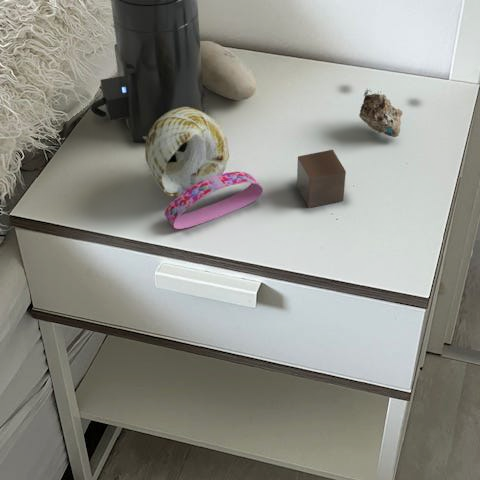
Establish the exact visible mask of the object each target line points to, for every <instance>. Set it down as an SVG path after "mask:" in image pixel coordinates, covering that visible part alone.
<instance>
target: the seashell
mask: <svg viewBox="0 0 480 480" xmlns="http://www.w3.org/2000/svg"><path fill="white" fill-rule="evenodd" d="M229 149H230V148H229V145H228V139H227V137H226V135H225V132H224V130H223V128H222V126H221V124H219V122H217V120H215V119H214V118H213V117H212V116H210V115H209V114H207V113H206V112H205V113H204V112H201V111H199V110H196V109H193V108H190V107H181V108H177V109H174V110H171V111H169V112H168V113H166V114H164V115H163V116H162V117H160V118H159V119H158V120H157V121H156V122H155V124H154V125H153V127H152V128H151V130H150V132H149V134H148V137H147V140H146V142H145V148H144V151H145V152H144V156H145V157H144V158H145V162H146V165H147V167H148V170H149V172H150V174H151V175H152V177H153V180H154V181H155V183H156V185H157V186H158V187H159V189H161V191H162V192H163V193H164V194H166V195H167V196H169V197H175V196H176V197H178V196H179V195H180V194H182V193H183V192H184V191H186V190H187V189H189V188H190V187H192V186H194V185H196V184H197V183H199V182H201V181H203V180H206V179H208V178H210V177H212V176H215V175H219V174H223V173H224V171H226V168H227V164H228V161H229V159H230V150H229Z"/></svg>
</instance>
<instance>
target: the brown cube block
mask: <svg viewBox="0 0 480 480" xmlns="http://www.w3.org/2000/svg"><path fill="white" fill-rule="evenodd" d="M296 171H297V172H296V175H297V176H296V186H297V189H298V190H299V193H300V194H301V196H302V198H303V200H304V202H305V204H306V206H307V208H309V209H310V208H315V207H319V206H325V205H329V204H334V203H339V202H343V201H344V198H345V187H346V185H345V184H346V175H347V171H346V169H345V168H344V166H343V165H342V162H341V161H340V159H339V157H338V156H337V154H336V152H335V151H334V149H328V150H323V151H319V152H313V153H307V154H303V155H298V156H297V169H296Z"/></svg>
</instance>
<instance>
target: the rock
mask: <svg viewBox="0 0 480 480" xmlns="http://www.w3.org/2000/svg"><path fill="white" fill-rule="evenodd" d="M344 89H345V88H344ZM369 93H371V94H369ZM379 93H380V94H379ZM381 93H382V91H379V90H378V91H377V93H372V90H371V88H369V89H366V90H365V91H364V93H363V95H364V98H363V101H362V102H363V103H362V104H361V106H360V110H359V115H358V117H359V118H360V119H361V121H363V122H364V123H365V124H366V125H367V126H368V127H369V128H371V129H372V130H374V131H376V132H377V133H378V134H382V133H383V134H384V135H385V136H388V137H392V138H393V137H394V138H396V137H399V135H400V132H401V124H402V121H401V118H402V115H403V110H402V109H399V108H395V107H394V106H393V105H392V102H391V100H390V99H388V98H387V95H385V94H381Z"/></svg>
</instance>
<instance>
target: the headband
mask: <svg viewBox="0 0 480 480" xmlns="http://www.w3.org/2000/svg"><path fill="white" fill-rule="evenodd" d="M239 184H249V185H248V186H246V188H244V189H243V190H241V191H240V192H238V193H236V194H234V195H231V196H229V197H227V198H224V199H222V200H220V201H217V202H214V203H212V204H209V205H207V206H205V207H201V208H199V209H196V210H194V211H190V212H186V213H184V212H185V211H186V210H187V209H188V208H190V207H191V206H192V205H194V204H195V203H197V202H198V201H200V200H202V198H205V197H206V196H208V195H210V194H212V193H215V192H216V191H218V190H221V189H223V188H227V187H230V186H234V185H239ZM263 193H264V188H263V187H262V185H261V184H260V183H259V182H258V181H257V180H256V179H255V178H254V176H253V175H251V174H250V173H249V172H244V171H231V172H223V173H222V174H219V175H215V176H212V177H210V178H208V179H206V180H203V181H201V182H199V183H197V184H196V185H194V186H192V187H190V188H189V189H187V190H186V191H184V192H183V193H182V194H180V195H178V196H176V198H174V200H172V201H171V202H170V203H169V205H168V206H167V207H166V208H165V210H164V213H163V215H164V217H165V218H166V219H167V221H168V222H169V223H170V224H171V225H172V227H173V228H174V229H175V230H183V229H188V228H191V227H195V226H198V225H201V224H204V223H207V222H209V221H213V220H215V219H217V218H220V217H222V216H225V215H228V214H231V213H232V212H236V211H237V210H239V209H242V208H244V207H247V206H249V204H251V203H253V202H255V201H256V200H257V199H259V198H260V197H261V196H262V194H263ZM183 213H184V214H183Z"/></svg>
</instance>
